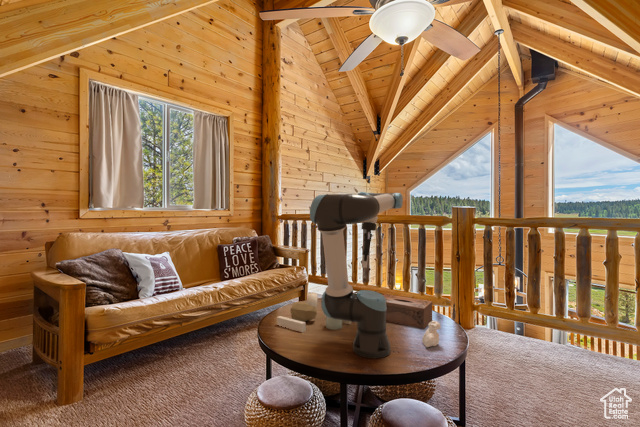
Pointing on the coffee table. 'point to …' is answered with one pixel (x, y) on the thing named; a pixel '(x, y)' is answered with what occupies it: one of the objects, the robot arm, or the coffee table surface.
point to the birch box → (346, 322)
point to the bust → (431, 334)
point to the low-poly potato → (303, 311)
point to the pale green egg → (333, 323)
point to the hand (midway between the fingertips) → (364, 267)
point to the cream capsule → (312, 299)
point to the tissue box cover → (408, 311)
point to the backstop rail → (291, 324)
